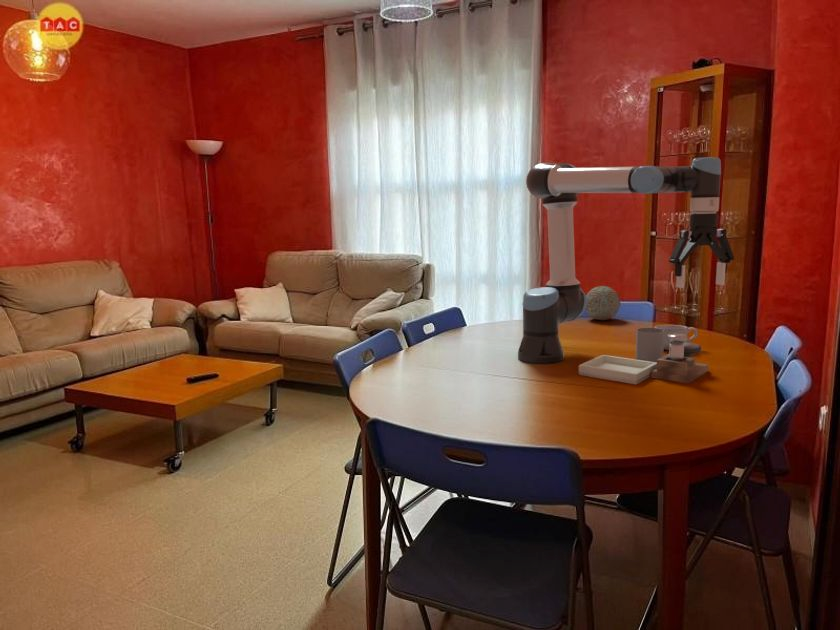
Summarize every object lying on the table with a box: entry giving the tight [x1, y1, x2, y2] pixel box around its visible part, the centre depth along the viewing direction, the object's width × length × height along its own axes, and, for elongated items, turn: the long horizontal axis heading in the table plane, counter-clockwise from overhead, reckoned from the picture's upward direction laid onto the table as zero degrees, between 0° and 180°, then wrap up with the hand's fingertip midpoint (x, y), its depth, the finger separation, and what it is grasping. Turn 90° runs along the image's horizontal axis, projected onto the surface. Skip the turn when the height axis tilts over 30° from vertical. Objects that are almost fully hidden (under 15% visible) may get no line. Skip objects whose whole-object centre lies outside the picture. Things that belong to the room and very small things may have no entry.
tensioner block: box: [650, 342, 709, 384], centre depth 190 cm, size 11×17×8 cm, turn 138°
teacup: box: [654, 324, 698, 351], centre depth 221 cm, size 14×11×8 cm
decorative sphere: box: [585, 285, 621, 321], centre depth 276 cm, size 15×15×15 cm
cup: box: [635, 327, 665, 362], centre depth 207 cm, size 8×8×10 cm
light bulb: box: [667, 334, 688, 362], centre depth 186 cm, size 5×5×10 cm
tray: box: [578, 354, 657, 385], centre depth 193 cm, size 18×16×3 cm
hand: (700, 286), depth 186 cm, fingers open, 13 cm apart
